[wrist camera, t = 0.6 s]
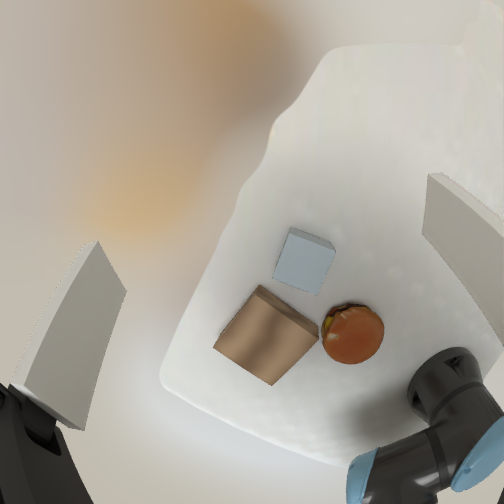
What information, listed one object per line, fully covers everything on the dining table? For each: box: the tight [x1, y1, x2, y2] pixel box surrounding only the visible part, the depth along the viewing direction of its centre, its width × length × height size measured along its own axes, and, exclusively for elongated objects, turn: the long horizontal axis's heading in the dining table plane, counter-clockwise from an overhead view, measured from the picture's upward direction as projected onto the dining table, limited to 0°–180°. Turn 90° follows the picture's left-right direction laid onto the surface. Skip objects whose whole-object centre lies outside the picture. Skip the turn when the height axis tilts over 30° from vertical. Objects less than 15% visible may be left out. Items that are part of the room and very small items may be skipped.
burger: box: [321, 303, 384, 364], centre depth 39 cm, size 10×9×5 cm
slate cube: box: [272, 227, 336, 295], centre depth 37 cm, size 6×6×6 cm
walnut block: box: [213, 285, 319, 386], centre depth 42 cm, size 11×11×4 cm
